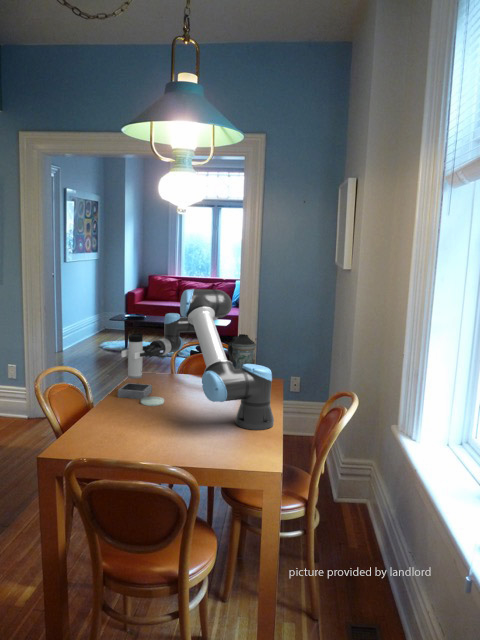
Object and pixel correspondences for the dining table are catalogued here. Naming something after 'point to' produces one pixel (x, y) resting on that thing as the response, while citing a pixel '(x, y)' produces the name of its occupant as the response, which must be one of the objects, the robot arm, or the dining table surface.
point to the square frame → (134, 391)
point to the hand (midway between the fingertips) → (128, 355)
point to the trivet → (152, 401)
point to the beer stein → (241, 351)
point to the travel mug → (133, 364)
